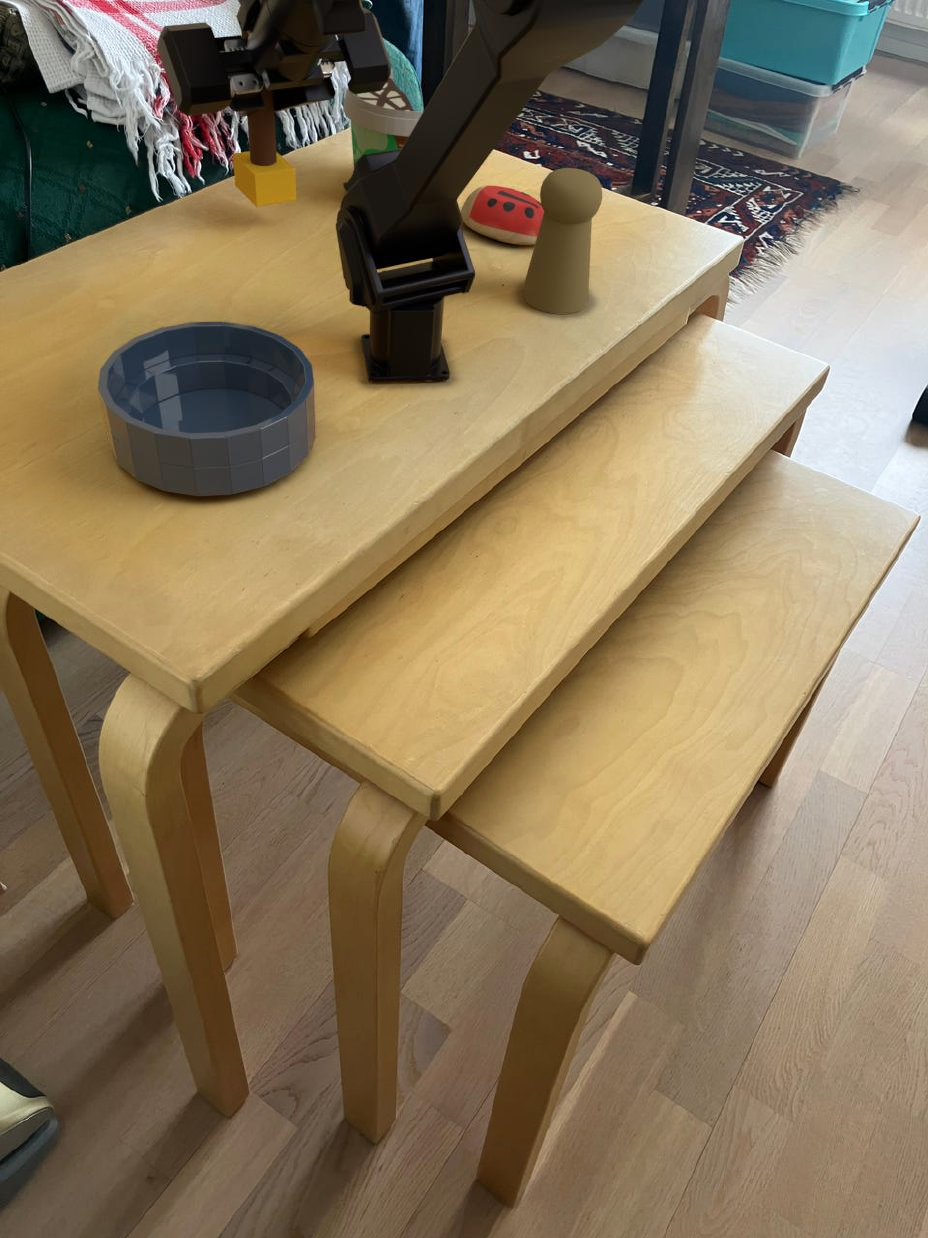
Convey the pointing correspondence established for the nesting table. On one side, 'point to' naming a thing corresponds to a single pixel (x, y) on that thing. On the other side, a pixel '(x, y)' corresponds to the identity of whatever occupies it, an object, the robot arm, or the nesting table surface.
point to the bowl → (208, 407)
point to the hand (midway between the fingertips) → (254, 109)
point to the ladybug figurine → (503, 214)
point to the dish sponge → (263, 159)
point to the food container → (379, 119)
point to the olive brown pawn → (563, 242)
